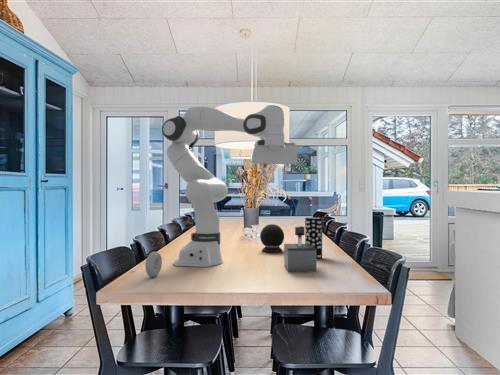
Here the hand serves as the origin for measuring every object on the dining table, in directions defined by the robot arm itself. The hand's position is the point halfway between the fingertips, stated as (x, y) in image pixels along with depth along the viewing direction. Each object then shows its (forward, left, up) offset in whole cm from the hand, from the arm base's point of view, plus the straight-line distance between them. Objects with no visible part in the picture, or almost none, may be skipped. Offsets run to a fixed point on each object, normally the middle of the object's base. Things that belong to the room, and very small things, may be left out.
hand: (274, 174), depth 161 cm
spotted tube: (+22, +22, -41) cm, 52 cm away
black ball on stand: (+3, +41, -41) cm, 58 cm away
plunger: (+11, -2, -40) cm, 41 cm away
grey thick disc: (-49, -14, -41) cm, 66 cm away
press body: (+11, -2, -41) cm, 43 cm away
